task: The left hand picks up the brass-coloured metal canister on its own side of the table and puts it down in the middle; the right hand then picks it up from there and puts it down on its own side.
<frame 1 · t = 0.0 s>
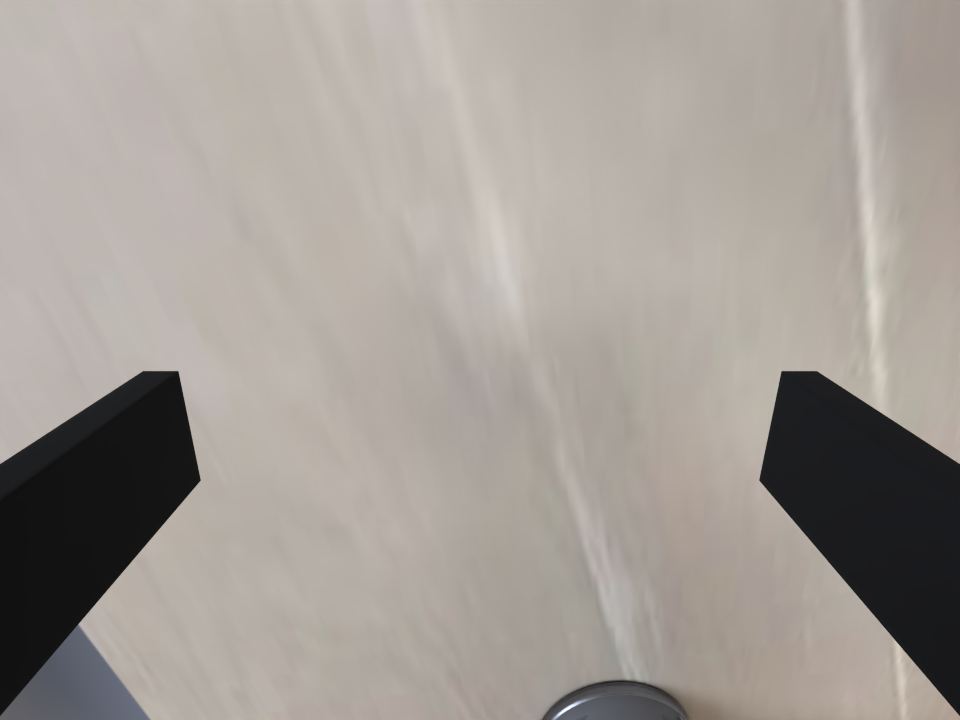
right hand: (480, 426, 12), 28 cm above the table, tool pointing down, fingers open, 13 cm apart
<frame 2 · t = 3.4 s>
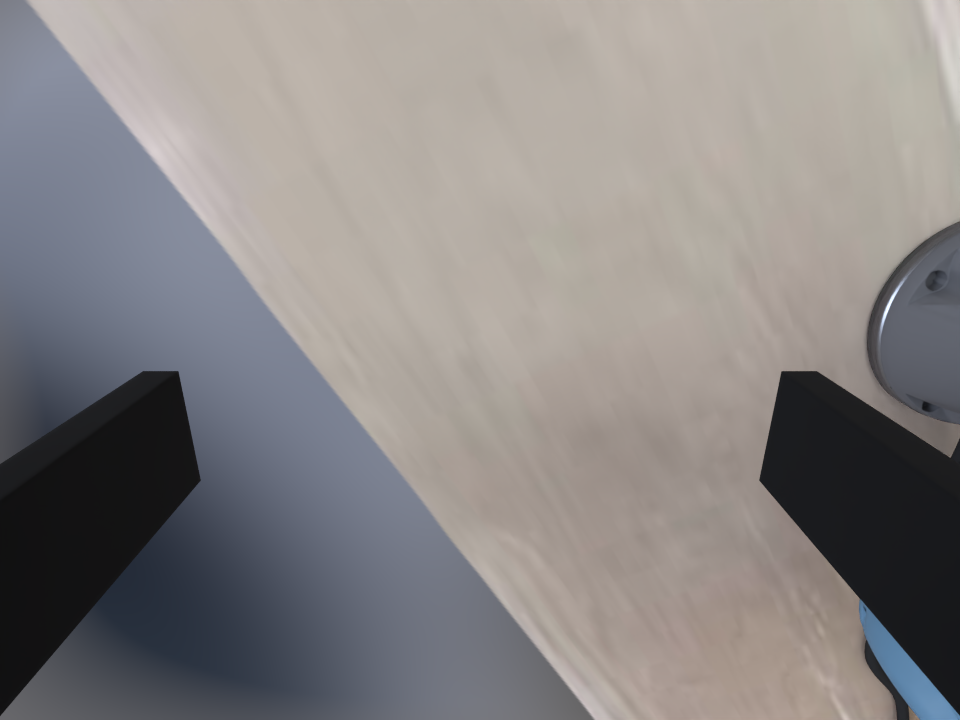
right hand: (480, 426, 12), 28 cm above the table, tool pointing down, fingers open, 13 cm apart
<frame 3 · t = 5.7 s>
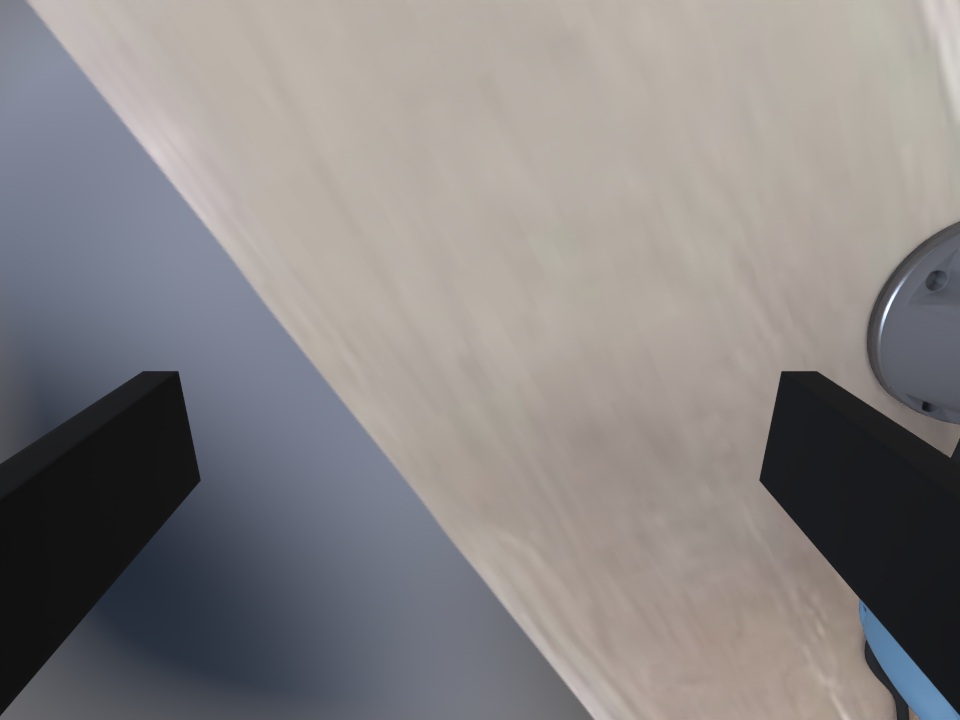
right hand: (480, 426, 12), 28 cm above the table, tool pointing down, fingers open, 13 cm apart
when the left hand's fingers open (6 cm above the table, at t = 8.0 s): canister drops 1 cm, on the table.
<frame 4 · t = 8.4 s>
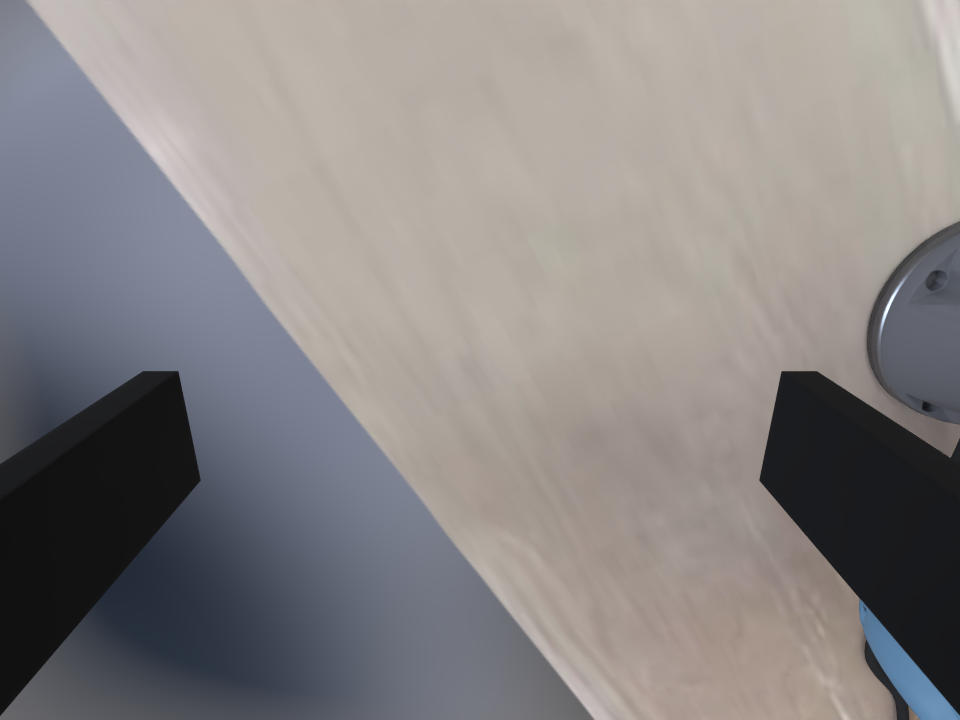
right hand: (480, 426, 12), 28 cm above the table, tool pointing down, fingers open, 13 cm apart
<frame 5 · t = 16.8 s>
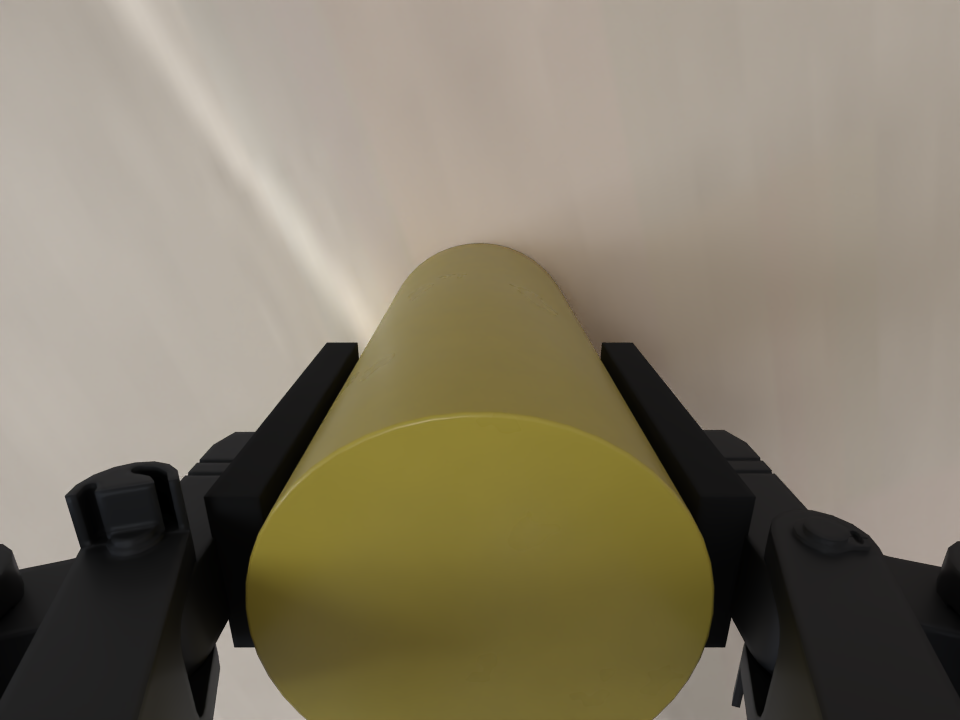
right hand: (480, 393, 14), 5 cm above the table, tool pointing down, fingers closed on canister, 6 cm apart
canister: (479, 334, 19), on the table, touching right hand
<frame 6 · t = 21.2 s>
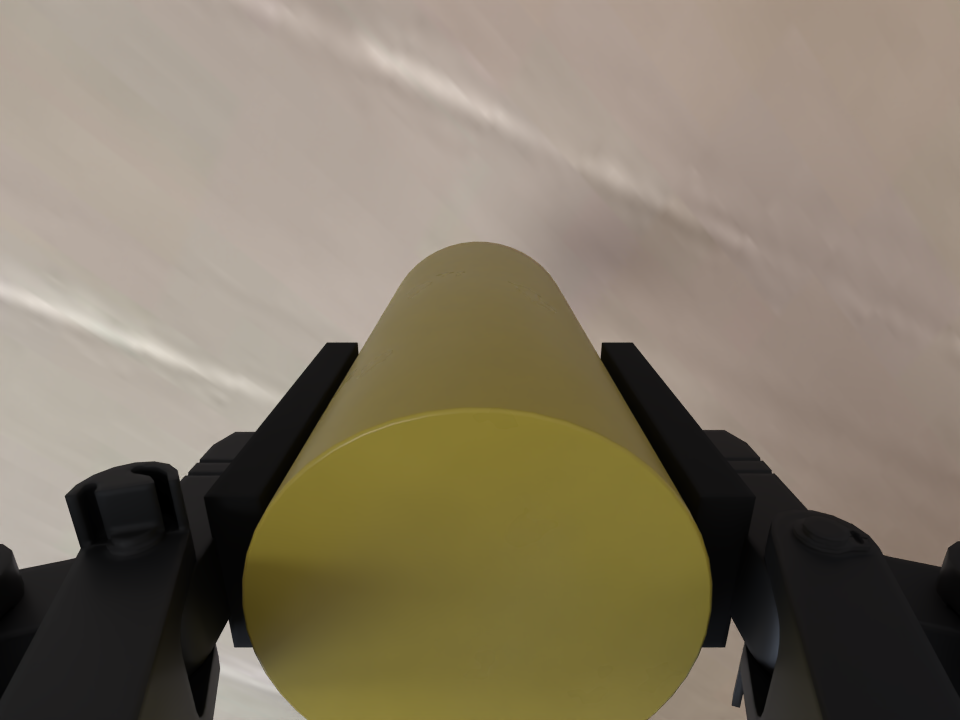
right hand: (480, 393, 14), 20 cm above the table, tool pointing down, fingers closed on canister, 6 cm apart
canister: (478, 332, 18), point 15 cm above the table, touching right hand
when the right hand's fingers open (6 cm above the table, at t = 25.7 s): canister drops 1 cm, on the table.
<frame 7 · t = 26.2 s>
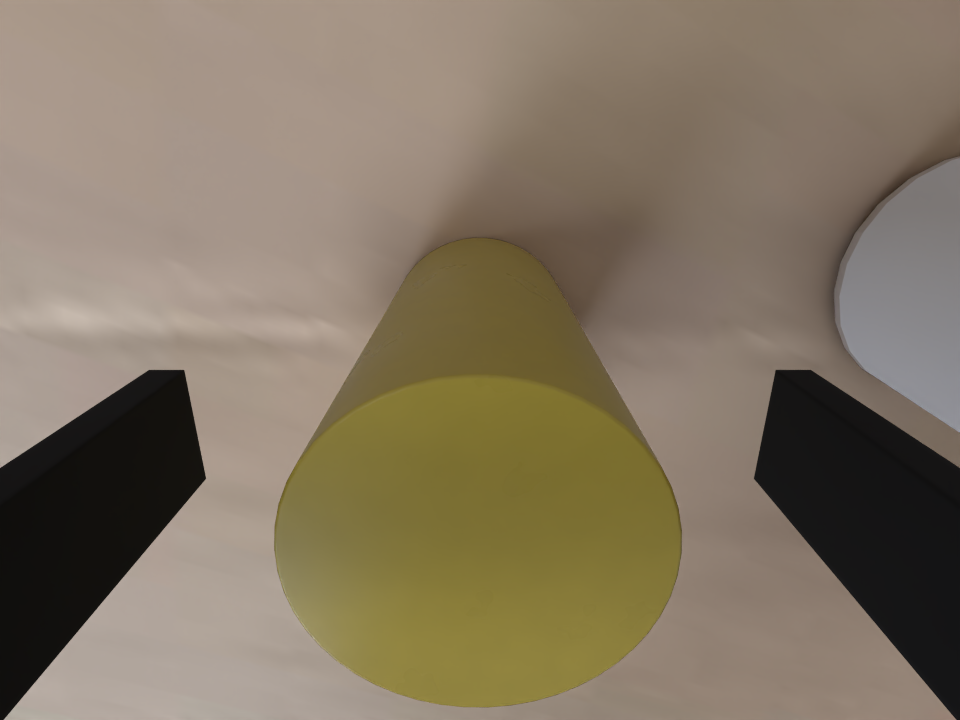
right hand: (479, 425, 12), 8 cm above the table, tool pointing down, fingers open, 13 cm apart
canister: (479, 323, 20), on the table
mug: (957, 299, 19), on the table
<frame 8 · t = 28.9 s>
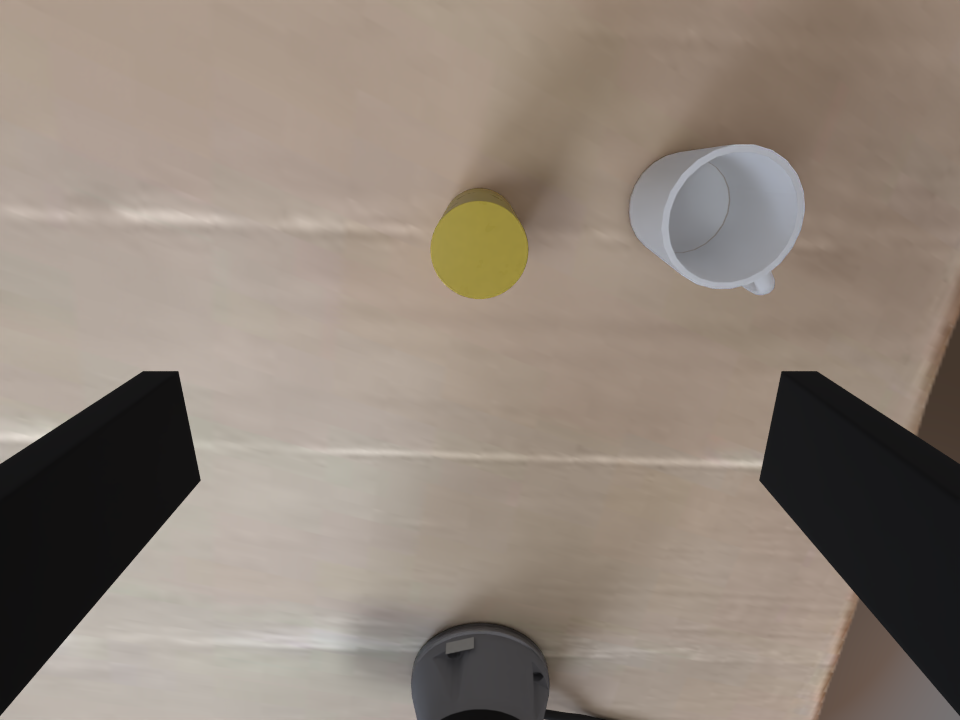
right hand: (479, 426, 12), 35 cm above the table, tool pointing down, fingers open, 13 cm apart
canister: (479, 226, 45), on the table
mug: (683, 215, 45), on the table
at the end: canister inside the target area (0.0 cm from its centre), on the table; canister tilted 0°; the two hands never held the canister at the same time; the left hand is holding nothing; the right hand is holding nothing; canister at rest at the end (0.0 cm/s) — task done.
